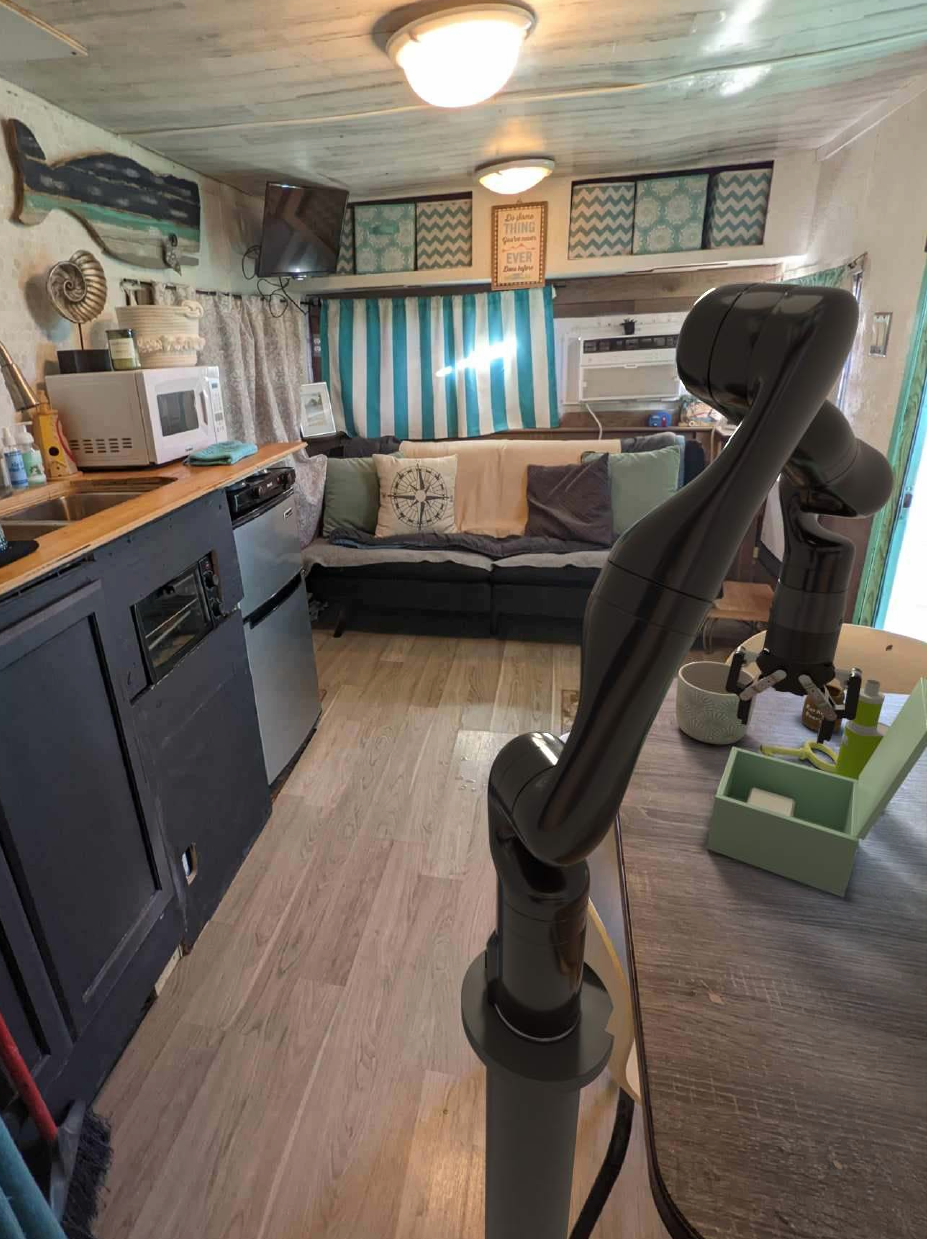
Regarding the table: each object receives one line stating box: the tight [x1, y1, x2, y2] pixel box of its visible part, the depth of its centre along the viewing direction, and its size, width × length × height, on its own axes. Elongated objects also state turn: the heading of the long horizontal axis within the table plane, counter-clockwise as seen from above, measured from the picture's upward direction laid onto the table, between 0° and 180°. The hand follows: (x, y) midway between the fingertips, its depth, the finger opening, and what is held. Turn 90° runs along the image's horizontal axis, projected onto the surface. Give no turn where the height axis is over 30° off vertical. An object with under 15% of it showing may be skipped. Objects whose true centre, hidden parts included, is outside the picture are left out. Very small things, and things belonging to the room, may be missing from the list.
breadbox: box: [706, 746, 860, 898], centre depth 87 cm, size 16×14×9 cm
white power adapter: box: [747, 787, 795, 817], centre depth 89 cm, size 10×6×4 cm, turn 144°
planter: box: [675, 660, 758, 745], centre depth 112 cm, size 12×12×11 cm
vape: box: [833, 679, 891, 780], centre depth 92 cm, size 4×6×20 cm, turn 79°
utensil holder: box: [800, 683, 846, 733], centre depth 112 cm, size 6×6×12 cm
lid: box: [856, 677, 927, 841], centre depth 76 cm, size 16×14×5 cm
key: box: [758, 740, 838, 773], centre depth 104 cm, size 7×12×2 cm, turn 99°
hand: (781, 731), depth 84 cm, fingers open, 8 cm apart
